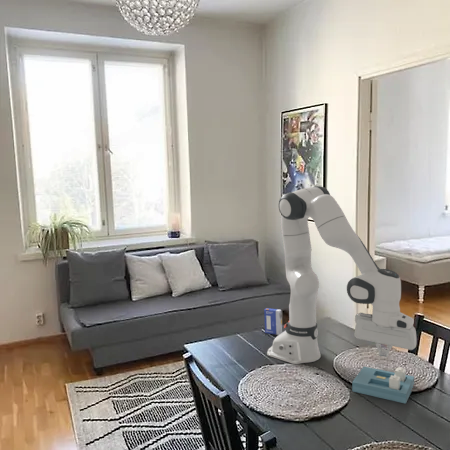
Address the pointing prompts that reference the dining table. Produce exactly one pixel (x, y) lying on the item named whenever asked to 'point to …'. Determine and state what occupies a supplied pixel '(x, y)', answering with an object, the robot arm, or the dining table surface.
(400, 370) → the tab far
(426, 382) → the dining table surface
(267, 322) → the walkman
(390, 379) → the tab near
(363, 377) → the switch bank
